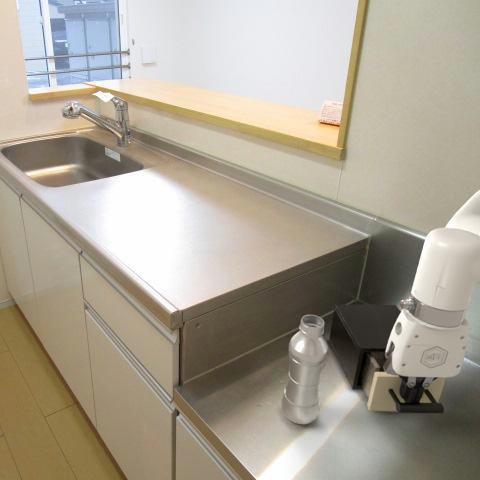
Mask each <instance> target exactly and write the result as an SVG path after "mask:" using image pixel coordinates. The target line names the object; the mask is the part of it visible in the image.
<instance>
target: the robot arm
mask: <svg viewBox="0 0 480 480" xmlns="http://www.w3.org/2000/svg"><path fill="white" fill-rule="evenodd" d="M424 239H425V240H424V243H423V247H422V250H421V254H420V258H419V261H418V265H417V269H416V273H415V276H414V279H413V283H412V287H411V291H410V293H409V294H408V295H409V296H408V298H407V299H405V300H403V299H402V300H400V303H399V306H400V308H401V310H400V311H401V313H400V315H399V317H398V319H397V320H396V323H395V325H394V327H393V329H392V332H391V335H390V337H389V341H388V344H387V348H386V353H385V356H386V358H387V360H386V362H385V364H384V365H383V368H384V370H385V372H386V373H387V374H391V375H395V376H396V375H397V376H399V377H400V378H401V379H402V383H401V387H400V390H399V394H400V396H401V398H403V400H404V401H405V402H408V403H419V402H420V399H421V398H422V396H423V392H424V389H425V388H428V387H429V386H430V385H431V383H432V381H434V380H436V379H437V378H439V377H446V378H453V377H457V376H459V374H460V373H461V369H462V368H463V363H464V361H465V356H466V353H467V347H468V341H469V340H468V339H469V321H468V319H466V314H467V313H468V309H469V306H470V302H471V300H472V297H473V294H474V291H475V288H476V286H478V285H480V189H479V190H478V191H476V192H475V193H474V194H473V195H472V196H471V197H470V198H469V199H468V200H467V201H466V202H465V203H464V204H463V205H462V206H461V207H460V208H459V209H458V210H457V211H456V212H455V213H454V214H453V216H452V217H451V218H450V220H449V221H448V222H447V224H446V225H445V227H437V228H435V229H432V230H431V231H430V232H429V233H427V235H426V237H425V238H424Z"/></svg>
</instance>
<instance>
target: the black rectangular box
mask: <svg viewBox="0 0 480 480" xmlns="http://www.w3.org/2000/svg"><path fill="white" fill-rule="evenodd" d="M401 311H402V310H400V308H399V307H398V306H397V304H334V307H333V315H332V319H331V326H330V332H329V338H328V343H329V345H330V347H331V349H332V351H333V354H334V356H335V357H336V360H337V362H338V364H339V365H340V367H341V369H342V372H343V373H344V376H345V377H346V380H347V381H348V384H349V386H350V388H351V389H352V390H363V388H362V386H361V385H360V383H359V381H358V379H359V374H360V369H361V365H362V360H363V355H364V352H386V348H387V344H388V341H389V337H390V335H391V332H392V329H393V327H394V325H395V323H396V320H397V319H398V317H399V315H400V313H401Z"/></svg>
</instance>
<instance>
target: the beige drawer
mask: <svg viewBox="0 0 480 480" xmlns="http://www.w3.org/2000/svg"><path fill="white" fill-rule="evenodd" d="M385 353H386V352H364V355H363V360H362V365H361V369H360V374H359V379H358V381H359V383H360V385H361V386H362V388H363V389H362V391H363V392H364V394H365V396H366V398H367V399H368V400H367V403H366V407H367V409H368V411H369V412H397V413H399V414H444V413H445V406H444V405H443V403H441V402H439V401H440V397H441V394H442V392H443V389H444V385H445V382H446V379H447V377H439V378H437V379H436V380H434V381H432V383H431V385H430V386H429V387H428V388H425V389H424V392H423V396H422V398H421V399H420V402H419V403H408V402H405V401H404V400H403V398H401V396H400V394H399V390H400V387H401V383H402V379H401V378H400V377H399V376H397V375H396V376H395V375H391V374H387V373H386V372H385V370H384V368H383V365H384V364H385V362H386V360H387V358H386V356H385Z"/></svg>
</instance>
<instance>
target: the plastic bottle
mask: <svg viewBox="0 0 480 480" xmlns="http://www.w3.org/2000/svg"><path fill="white" fill-rule="evenodd" d="M298 330H299V331H297V332H296V333H295V334H294V335H293V336H292V337H291V339H290V341H289V343H288V376H287V381H286V385H285V388H284V391H283V394H282V397H281V409H282V412H283V414H284V415H285V417H286V418H287V419H288V420H289V421H290V422H292V423H295V424H297V425H308V424H310V423H312V422H314V421H315V420H316V419H317V418H318V415H319V413H320V409H321V398H320V392H321V391H320V389H321V381H322V376H323V373H324V369H325V367H326V364H327V361H328V359H329V354H330V349H329V344H328V342H327V340H326V339H325V337H324V334H325V321H324V319H323V318H321V317H320V316H319V315H315V314H306V315H303V316H302V317H301V319H300V324H299V325H298Z"/></svg>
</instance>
